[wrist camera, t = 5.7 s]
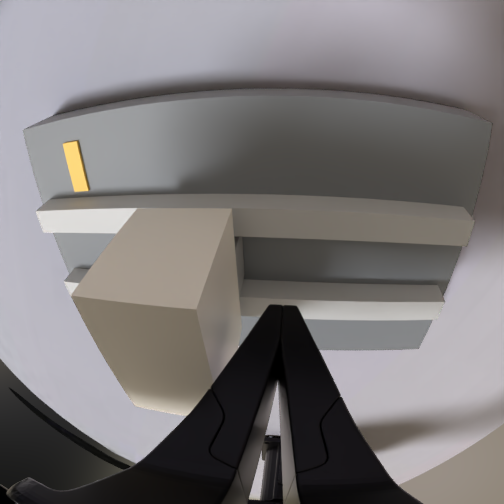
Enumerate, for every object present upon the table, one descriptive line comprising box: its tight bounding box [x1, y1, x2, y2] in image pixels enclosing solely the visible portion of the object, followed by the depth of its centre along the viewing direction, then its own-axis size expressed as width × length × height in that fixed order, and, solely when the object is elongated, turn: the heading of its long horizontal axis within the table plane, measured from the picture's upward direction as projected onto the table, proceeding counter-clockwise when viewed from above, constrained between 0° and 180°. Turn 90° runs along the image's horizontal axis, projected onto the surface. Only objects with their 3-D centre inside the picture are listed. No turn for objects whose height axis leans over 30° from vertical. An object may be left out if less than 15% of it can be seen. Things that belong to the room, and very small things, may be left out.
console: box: [23, 88, 493, 350], centre depth 12 cm, size 11×17×3 cm, turn 92°
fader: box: [71, 208, 245, 416], centre depth 10 cm, size 5×3×5 cm, turn 2°
